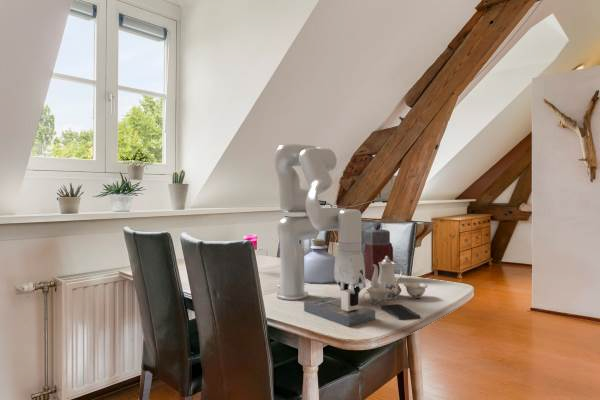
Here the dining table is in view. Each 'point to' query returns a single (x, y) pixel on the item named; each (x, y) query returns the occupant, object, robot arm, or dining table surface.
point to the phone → (400, 312)
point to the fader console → (338, 312)
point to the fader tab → (347, 301)
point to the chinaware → (390, 284)
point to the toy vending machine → (376, 248)
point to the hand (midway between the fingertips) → (350, 303)
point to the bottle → (319, 264)
